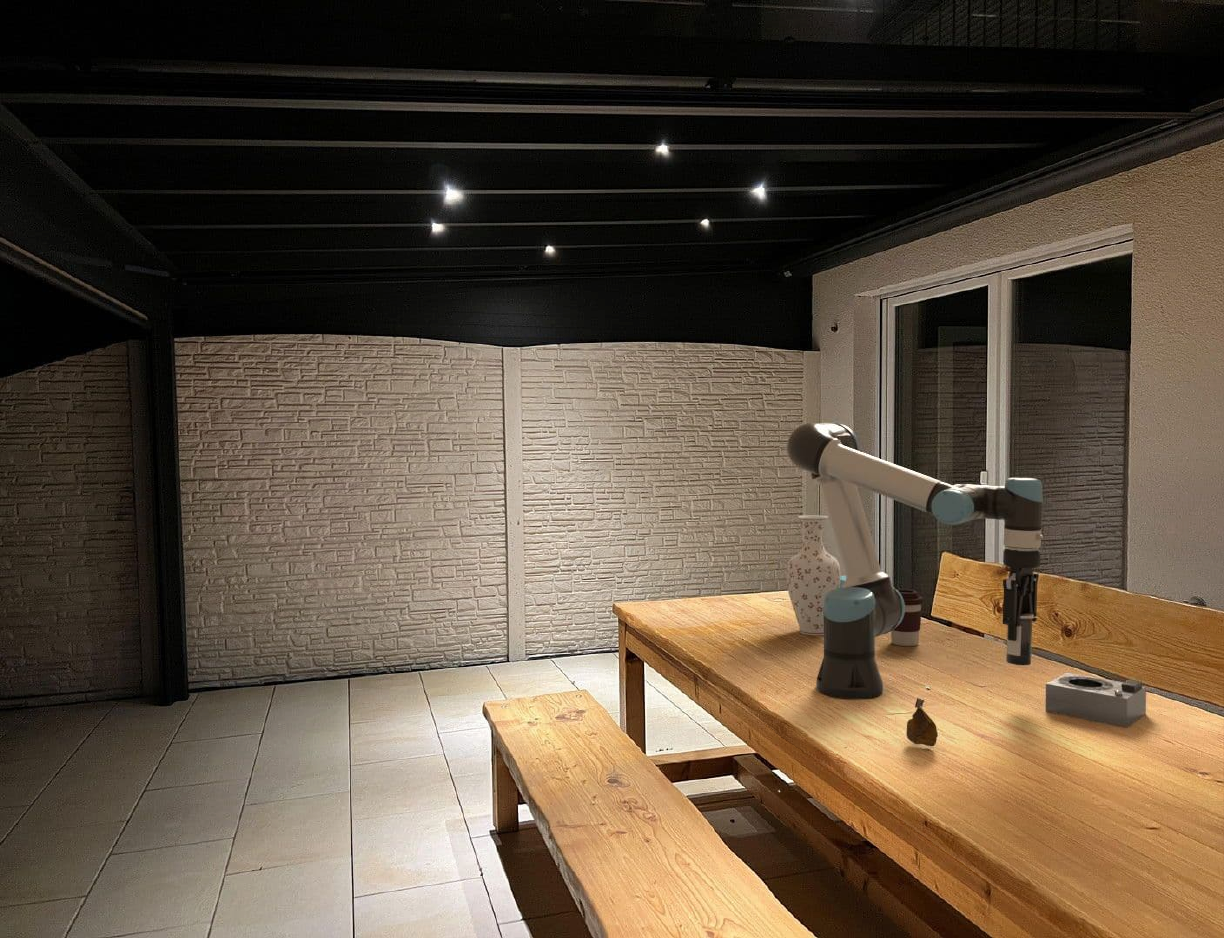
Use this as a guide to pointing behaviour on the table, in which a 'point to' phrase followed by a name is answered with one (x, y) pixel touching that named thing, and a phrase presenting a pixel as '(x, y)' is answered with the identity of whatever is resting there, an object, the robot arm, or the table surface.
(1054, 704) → the grey block with hole
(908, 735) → the chicken drumstick
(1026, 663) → the lens
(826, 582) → the vase
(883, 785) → the table surface
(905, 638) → the coffee cup
